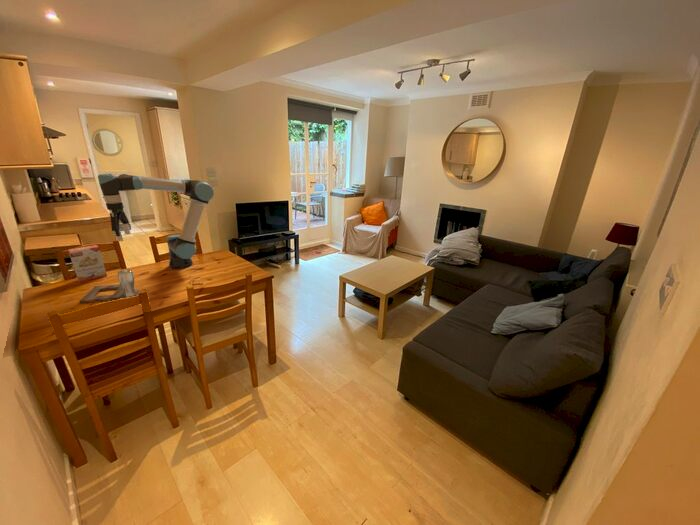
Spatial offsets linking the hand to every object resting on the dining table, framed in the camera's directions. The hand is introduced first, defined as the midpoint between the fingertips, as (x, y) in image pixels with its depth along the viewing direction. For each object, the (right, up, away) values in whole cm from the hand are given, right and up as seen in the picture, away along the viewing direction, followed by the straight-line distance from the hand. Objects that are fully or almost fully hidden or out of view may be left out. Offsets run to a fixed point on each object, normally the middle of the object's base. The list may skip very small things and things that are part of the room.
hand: (124, 237), depth 171 cm
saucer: (+7, -35, -4) cm, 36 cm away
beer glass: (+7, -34, -4) cm, 35 cm away
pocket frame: (-8, -34, -3) cm, 35 cm away
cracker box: (-33, -25, +15) cm, 44 cm away
